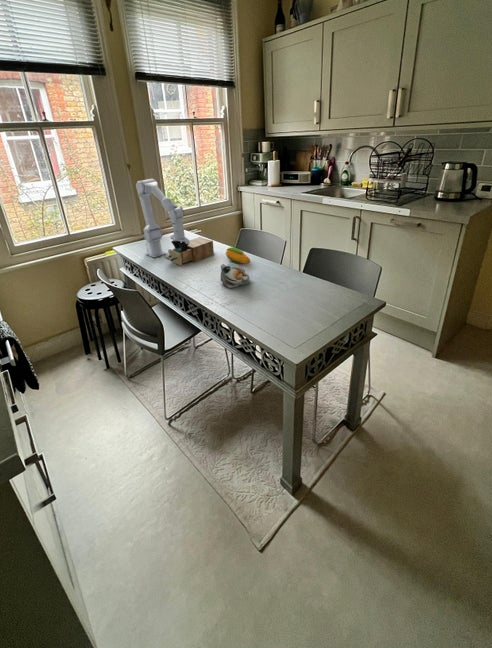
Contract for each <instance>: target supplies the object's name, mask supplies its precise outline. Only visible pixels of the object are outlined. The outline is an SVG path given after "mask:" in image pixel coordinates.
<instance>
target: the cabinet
mask: <svg viewBox="0 0 492 648" xmlns="http://www.w3.org/2000/svg"><path fill="white" fill-rule="evenodd" d="M189 242H190V243H189V244H188V246H187V247H189V248H192V249H193V257H194V259H193V260H191V262H193V263H196V262H200V261H202V260H204V259H206V258H209V257H212V256H215V253H214V241H213V240H212V239H208V238H205V237H201V236H199V237H197V238H193V239H189Z"/></svg>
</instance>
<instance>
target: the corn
mask: <svg viewBox="0 0 492 648" xmlns="http://www.w3.org/2000/svg"><path fill="white" fill-rule="evenodd" d="M225 256H226V257H227V259H229V260H230V261H232V262H233V263H235V264H240V265H241V264H249V263H251V259H250V257H249V256H247V254H245V253H244V251H243V250H241V249H240V248H239V247H235V246H233V247H228V248H227V249H226V251H225Z"/></svg>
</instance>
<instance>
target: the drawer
mask: <svg viewBox="0 0 492 648" xmlns="http://www.w3.org/2000/svg"><path fill="white" fill-rule="evenodd" d="M167 251H168V253H167V254H168V255H166V256H164V259H165V260H168V261H169V262H171V263H174V264H175V265H179V266H183V264H184V263H188V262H190V261H191V260H193V259H194V257H193V249H192V248H189V247H187V250H186V251H184V252H182V256H181V253H179V252H176V250H175V247H174V248H172V249H170V248H169V249H168V250H167ZM191 262H192V261H191Z"/></svg>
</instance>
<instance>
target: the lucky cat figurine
mask: <svg viewBox="0 0 492 648" xmlns="http://www.w3.org/2000/svg"><path fill="white" fill-rule="evenodd" d="M220 269H221V272H220V282H221V283H222V285H223V286H224V287H227V288H229V289H232V288H236V287H239V286H243V285H247V284H249V283H250V276H249V274H248V273H247V272H246V269H245V268H244V267H242V266H241V263H240V264H239V263H228V264H227V265H226V264H225V263H222V264H221V265H220Z"/></svg>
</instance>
